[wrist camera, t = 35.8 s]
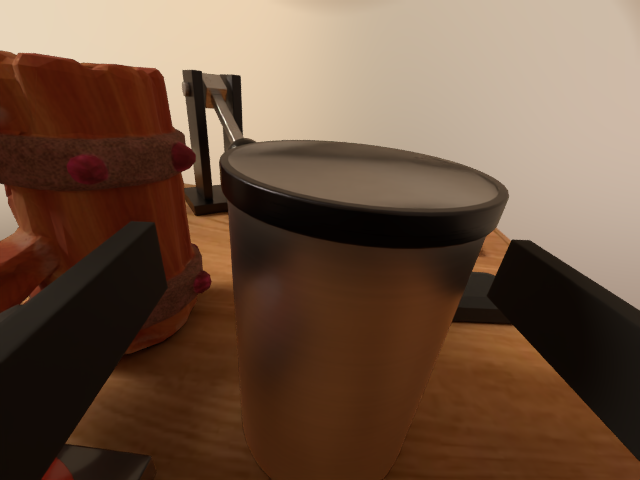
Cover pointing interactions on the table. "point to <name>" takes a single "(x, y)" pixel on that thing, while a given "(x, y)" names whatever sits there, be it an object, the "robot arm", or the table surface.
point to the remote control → (478, 301)
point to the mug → (92, 177)
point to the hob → (99, 465)
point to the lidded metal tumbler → (345, 294)
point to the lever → (222, 108)
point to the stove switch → (204, 193)
